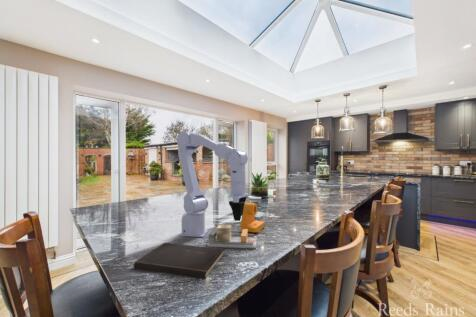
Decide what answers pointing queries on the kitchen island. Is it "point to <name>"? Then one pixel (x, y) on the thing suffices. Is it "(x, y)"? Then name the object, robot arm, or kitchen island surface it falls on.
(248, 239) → the vise base
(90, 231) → the kitchen island surface
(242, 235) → the sliding jaw
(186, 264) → the dark brown flat slab
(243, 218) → the bracket
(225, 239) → the maple block
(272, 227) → the kitchen island surface
